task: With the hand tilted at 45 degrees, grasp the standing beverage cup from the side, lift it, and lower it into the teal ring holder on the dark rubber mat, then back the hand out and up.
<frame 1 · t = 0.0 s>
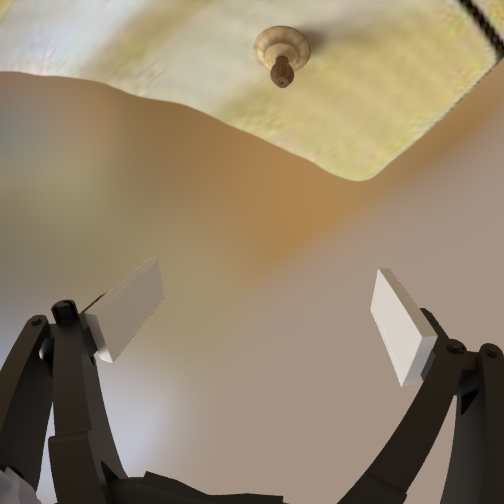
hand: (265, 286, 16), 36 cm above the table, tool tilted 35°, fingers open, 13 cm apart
hand bell: (281, 49, 32), on the table
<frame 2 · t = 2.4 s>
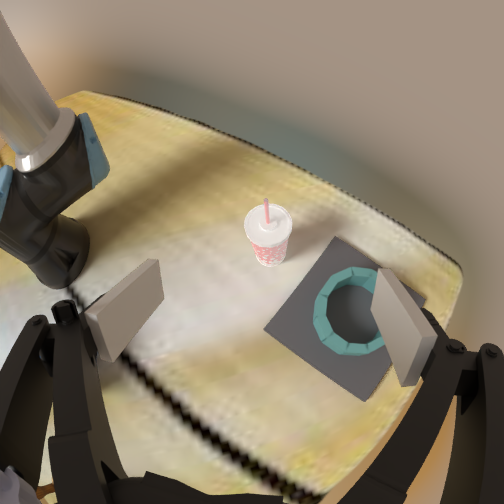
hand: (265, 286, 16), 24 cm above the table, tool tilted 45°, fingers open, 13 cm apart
hand bell: (78, 479, 27), on the table
cup holder: (351, 316, 37), on the table
beverage cup: (270, 253, 43), on the table
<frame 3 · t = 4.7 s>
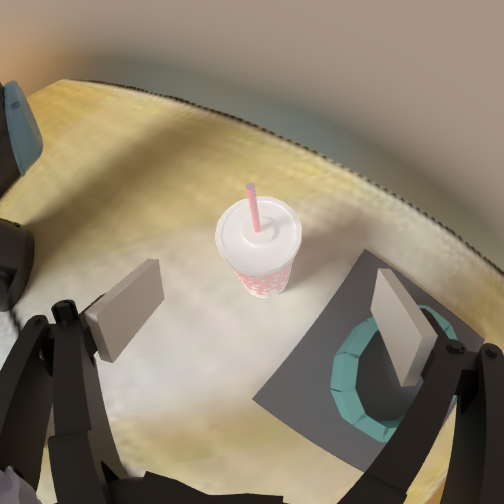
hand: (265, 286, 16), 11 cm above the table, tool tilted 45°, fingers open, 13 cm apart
cup holder: (386, 374, 22), on the table
beverage cup: (265, 276, 27), on the table
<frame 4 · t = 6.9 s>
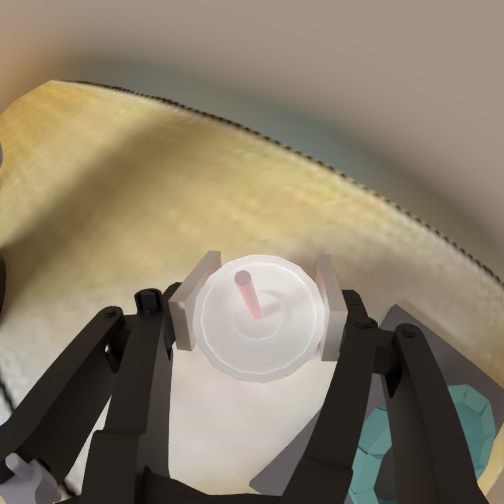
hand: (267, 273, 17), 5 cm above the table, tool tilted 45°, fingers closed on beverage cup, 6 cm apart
cup holder: (407, 450, 15), on the table
beverage cup: (267, 340, 20), on the table, touching gripper
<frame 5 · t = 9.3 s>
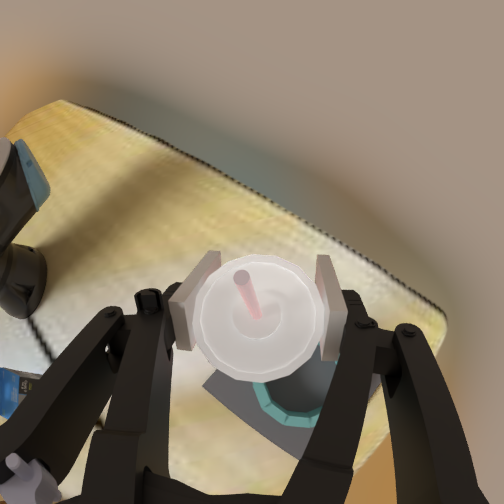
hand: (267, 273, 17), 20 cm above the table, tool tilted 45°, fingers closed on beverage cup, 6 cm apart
cup holder: (302, 377, 32), on the table
label tape box: (47, 399, 32), on the table
beverage cup: (267, 340, 20), point 15 cm above the table, touching gripper
when the fingers open (8 cm above the table, at t = 12.0 s): beverage cup drops 2 cm, resting on cup holder.
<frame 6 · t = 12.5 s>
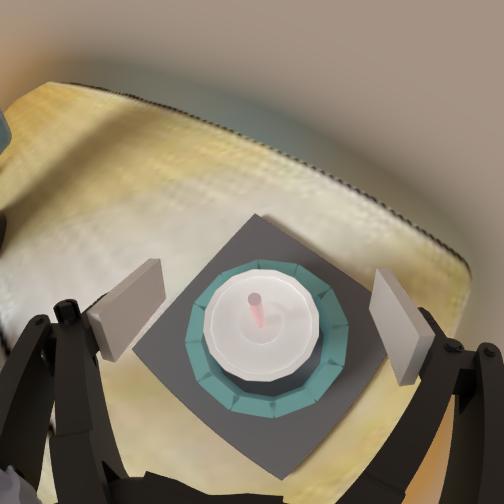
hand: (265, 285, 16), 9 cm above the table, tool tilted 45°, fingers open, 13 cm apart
cup holder: (269, 344, 23), on the table
beverage cup: (265, 341, 22), point 1 cm above the table, touching cup holder
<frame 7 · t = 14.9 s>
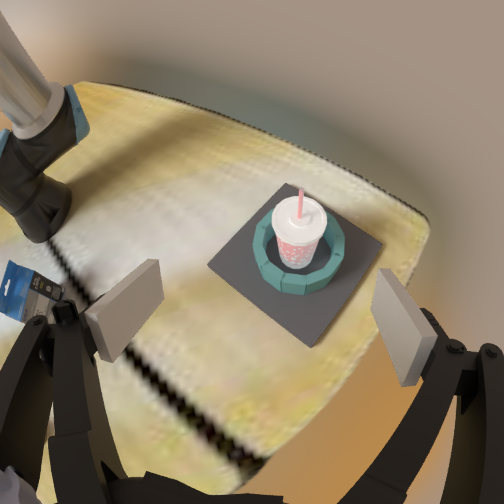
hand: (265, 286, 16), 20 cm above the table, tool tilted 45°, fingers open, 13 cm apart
cup holder: (297, 257, 38), on the table
label tape box: (54, 309, 39), on the table
beverage cup: (296, 254, 38), point 1 cm above the table, touching cup holder
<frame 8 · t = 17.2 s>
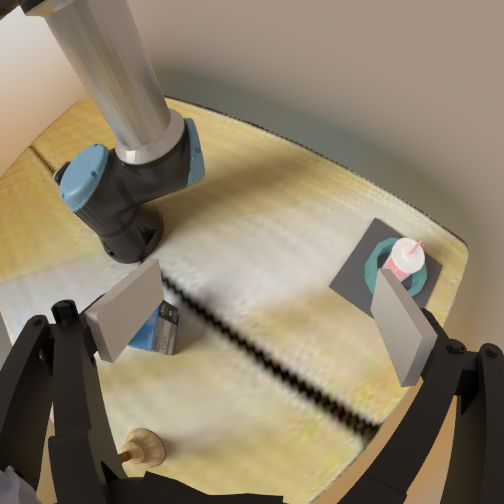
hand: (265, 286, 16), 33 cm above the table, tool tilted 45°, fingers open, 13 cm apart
hand bell: (145, 447, 38), on the table
cup holder: (390, 276, 48), on the table
label tape box: (167, 331, 48), on the table
battery charger: (82, 193, 67), on the table
beverage cup: (390, 274, 47), point 1 cm above the table, touching cup holder
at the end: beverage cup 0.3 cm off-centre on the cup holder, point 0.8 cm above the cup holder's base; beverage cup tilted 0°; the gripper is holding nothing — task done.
